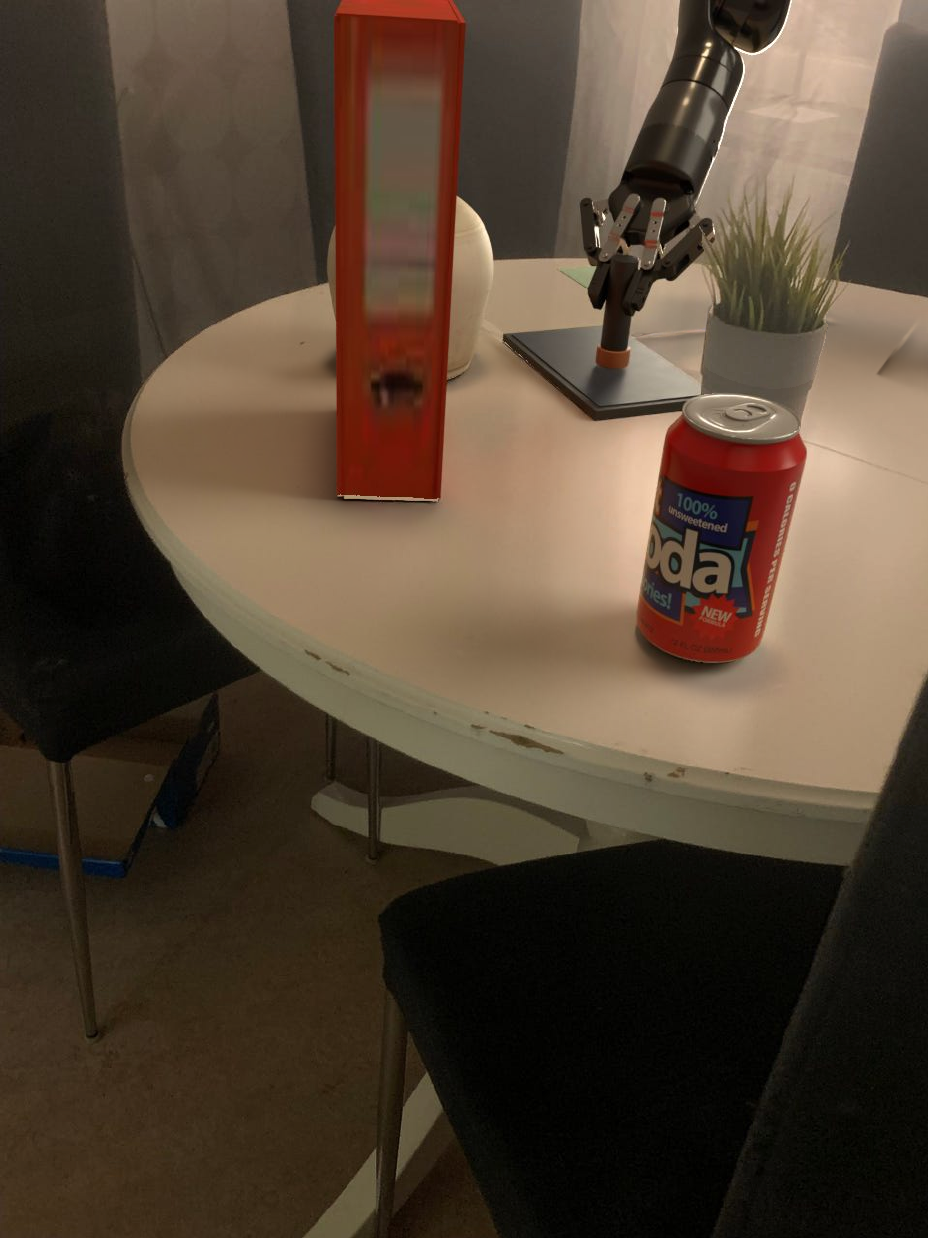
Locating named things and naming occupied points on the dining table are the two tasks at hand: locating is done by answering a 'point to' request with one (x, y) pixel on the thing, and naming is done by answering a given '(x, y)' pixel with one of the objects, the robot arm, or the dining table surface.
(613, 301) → the black orange cylinder
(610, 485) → the dining table surface
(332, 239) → the jug
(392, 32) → the file binder
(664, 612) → the soda can
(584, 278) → the pad
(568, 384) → the tablet
